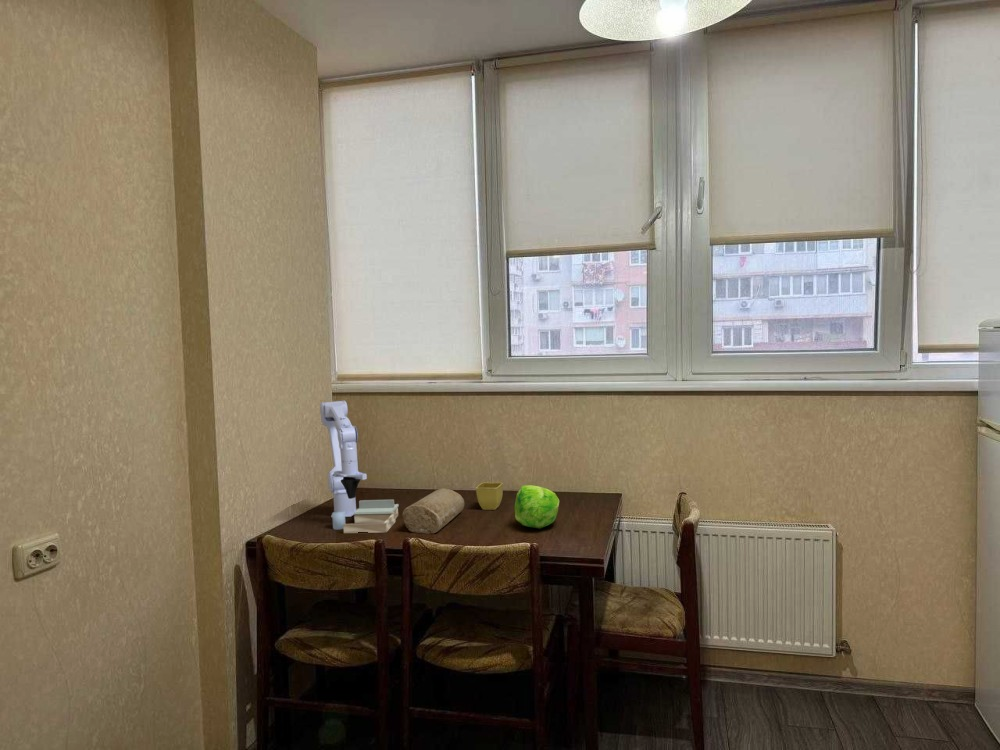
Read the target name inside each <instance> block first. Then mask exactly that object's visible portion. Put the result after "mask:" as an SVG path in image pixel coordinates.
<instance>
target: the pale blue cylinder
mask: <svg viewBox="0 0 1000 750" xmlns="http://www.w3.org/2000/svg"><path fill="white" fill-rule="evenodd" d="M331 516H332V517H331V518H332V529H333V530H336V531H337V530H344V528H343V525H344V524H347V523H346V517H345V511H336V512H334V511H333V512H331Z"/></svg>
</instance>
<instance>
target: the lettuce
mask: <svg viewBox="0 0 1000 750" xmlns="http://www.w3.org/2000/svg"><path fill="white" fill-rule="evenodd" d="M559 506H560V499H559V497H558V496H557V494H556V493H555V492H553V491H552V490H550V489H548V488H545V487H542V486H538V485H531V484H529V485H526V484H525V485H522V486H521V487H520V489H519V490H518V491H517V493H516V497H515V502H514V514H515V515H514V516H515V519H516V521H517V522H518V523H520V524H521V525H522V526H525V527H528V528H531V529H534V528H535V529H540V530H541V529H543V528H545V527H547V526H549V525H551V524H553V523H554V521H555V520H556V518H557V515H558V513H559Z"/></svg>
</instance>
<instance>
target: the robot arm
mask: <svg viewBox="0 0 1000 750" xmlns="http://www.w3.org/2000/svg"><path fill="white" fill-rule="evenodd" d="M348 411H349V410H348V404H347V401H346V400H336V401H327V402H324V401H322V402H321V403H320V404H319V414H320V420H321V424H322V425H323V426H324V427H327V431H328V434H329V442H330V443H329V444H330V448H331V455H332V462H333V468H332V469H330V470H329V472H328V474H327V485H328V490H329V491H330V493H332V495H333V507H334V508H333V512H336V511H345V518H352V516H353V517H354V515H355V514H354V512H355V511H356V510H357V509H358V508H357V502H356V494H357V489H358V487H359V483H360V481H364V480H367V479H368V477H367V476H368V475H367V473H366V472H365V473H364V472H361V471H359V467H358V466H359V464H358V463H359V462H358V449H357V448H358V447H357V443H358V441H359V434H358V428H357V426H356V425H352V423H351V420H350V418H349V417H348V414H349V413H348ZM330 517H331V518H332V515H331V516H330Z"/></svg>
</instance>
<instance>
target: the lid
mask: <svg viewBox="0 0 1000 750" xmlns="http://www.w3.org/2000/svg"><path fill="white" fill-rule="evenodd" d="M396 508H399V503H396V504H395V499H363V500H359V501H358V508H356V509H357V510H356V511H355V512H354V515H355V514H392V513H393V512H394V511H395V510H396Z"/></svg>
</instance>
